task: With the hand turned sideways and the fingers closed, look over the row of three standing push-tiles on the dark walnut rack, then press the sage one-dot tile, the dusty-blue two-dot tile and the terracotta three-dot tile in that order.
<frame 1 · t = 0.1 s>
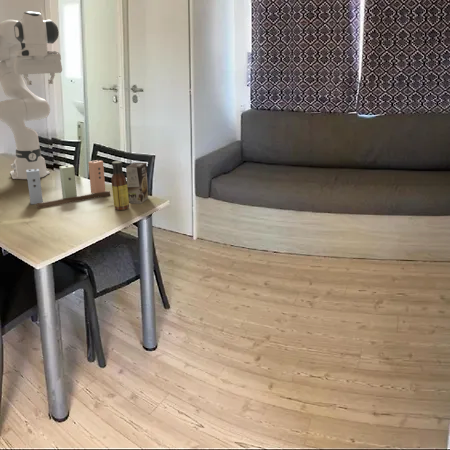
hand: (40, 84, 243), 48 cm above the table, tool pointing down, fingers open, 8 cm apart
coffee box: (138, 201, 241), on the table
tile rack: (70, 200, 241), on the table
tile three: (97, 176, 247), point 8 cm above the table, slide at 0.0 cm
sauce bottle: (121, 209, 230), on the table
tile two: (34, 186, 232), point 8 cm above the table, slide at 0.0 cm
tile one: (68, 182, 238), point 8 cm above the table, slide at 0.0 cm
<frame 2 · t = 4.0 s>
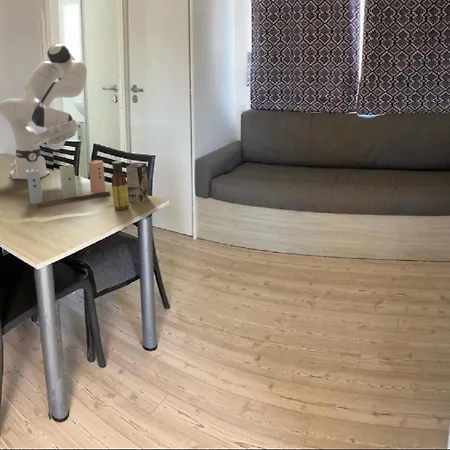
hand: (55, 128, 239), 30 cm above the table, tool pointing upward, fingers closed
nothing on the table moved.
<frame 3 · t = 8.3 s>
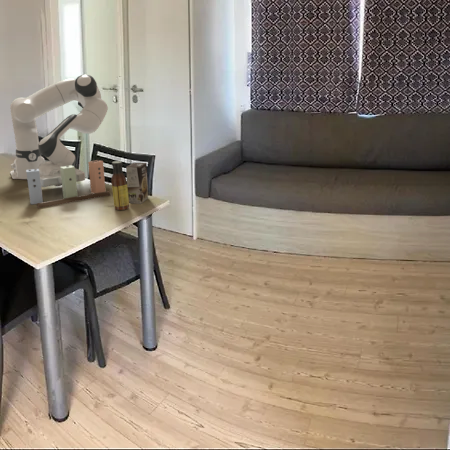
hand: (68, 182, 240), 8 cm above the table, tool horizontal, fingers closed, pressing on tile one
tile one: (69, 182, 238), point 8 cm above the table, slide at 0.9 cm, touching gripper
everything else where it was.
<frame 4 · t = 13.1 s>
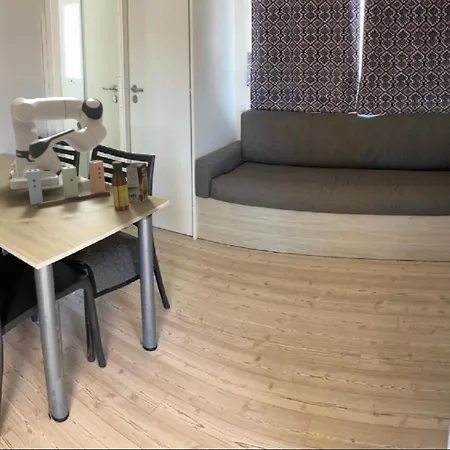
hand: (35, 186, 234), 8 cm above the table, tool horizontal, fingers closed
tile two: (34, 186, 232), point 8 cm above the table, slide at 0.5 cm, touching gripper
tile one: (70, 183, 237), point 8 cm above the table, slide at 2.2 cm
everything else where it was.
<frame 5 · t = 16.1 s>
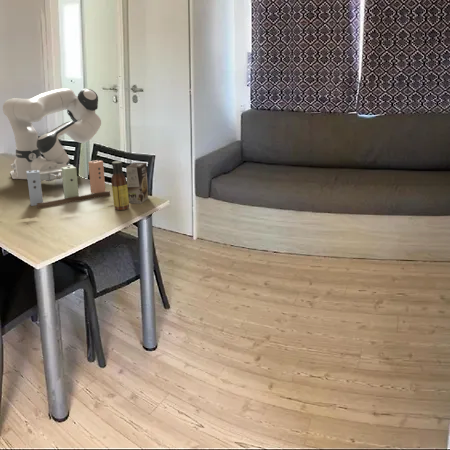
hand: (58, 177, 248), 8 cm above the table, tool horizontal, fingers closed
tile two: (34, 187, 230), point 8 cm above the table, slide at 2.2 cm
everything else where it was.
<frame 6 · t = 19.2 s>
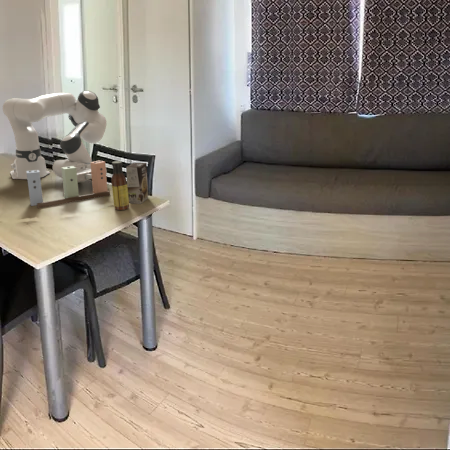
hand: (96, 176, 248), 8 cm above the table, tool horizontal, fingers closed
tile three: (99, 177, 247), point 8 cm above the table, slide at 1.5 cm, touching gripper
everything else where it was.
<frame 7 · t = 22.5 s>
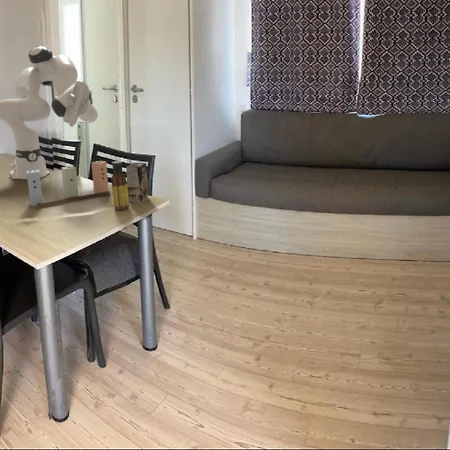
hand: (69, 97, 243), 42 cm above the table, tool pointing upward, fingers closed
tile three: (100, 177, 246), point 8 cm above the table, slide at 2.2 cm
everything else where it was.
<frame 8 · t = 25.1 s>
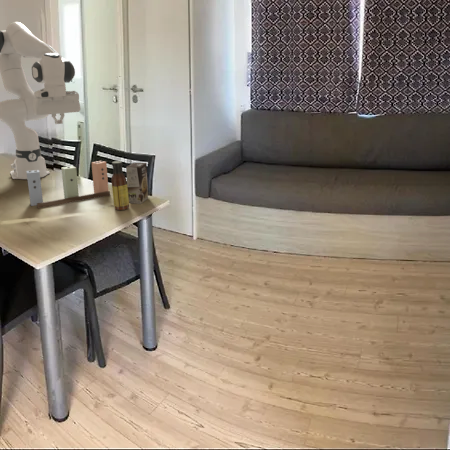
hand: (58, 123, 245), 31 cm above the table, tool pointing down, fingers closed
nothing on the table moved.
at the end: tile one slide at 2.2 cm; tile two slide at 2.2 cm; tile three slide at 2.2 cm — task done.
